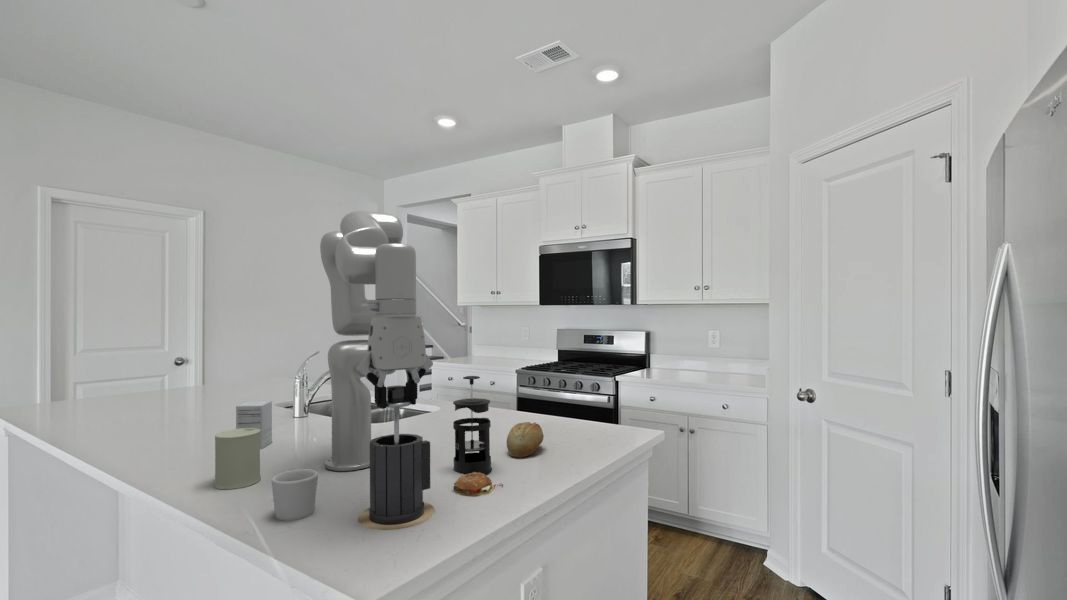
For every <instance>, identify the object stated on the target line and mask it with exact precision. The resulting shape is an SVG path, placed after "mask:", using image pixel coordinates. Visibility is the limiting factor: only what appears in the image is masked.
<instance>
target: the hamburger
mask: <svg viewBox="0 0 1067 600" xmlns="http://www.w3.org/2000/svg"><path fill="white" fill-rule="evenodd" d="M490 478H491V477H489V476H488V475H485V474H482V473H477V472H474V473H469V474H465V475H464V474H461V475H460V476H459V477H458V478H457V479H456V481H455V482H454V483H453V489H452V492H454V493H456V494H457V495H459V496H460V495H462V496H466V497H467V496H469V497H473V496H479V497H480V496H483V495H488V494H491V493H492V491H493V490H494V488H495V487H500V486H501V488H504V484H503V483H498V484H493V481H492V479H490ZM496 485H497V486H496Z"/></svg>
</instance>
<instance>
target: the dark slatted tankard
mask: <svg viewBox="0 0 1067 600" xmlns="http://www.w3.org/2000/svg"><path fill="white" fill-rule="evenodd" d="M429 489H431V441H429V440H427V439H426V440H423V436H421V435H419V434H413V433H399V445H394V433H393V434H387V435H381V436H377V437H375V438H373V439H372V438H371V442H370V467H369V507H368V508H369V519H370V521H372V522H373V523H376V524H381V525H398V524H404V523H408V522H411V521H414V520H416V519H418V518H420V517H421V516H422V515H423V514H424V502H425V501H424V491H425V490H426V491H427V490H429Z"/></svg>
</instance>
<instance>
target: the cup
mask: <svg viewBox="0 0 1067 600" xmlns="http://www.w3.org/2000/svg"><path fill="white" fill-rule="evenodd" d="M318 477H319V472H318V471H316V470H314V469H310V468H298V469H292V470H291V469H290V470H287V471H282V472H280V473H278V474H276V475H274V476H273V477H272V478H271V489H272V498H273V507H274V513H275V516H276V519H277V520H279V521H296V520H300V519H304V518H306V517H309V516H310V515H312V514H313V513H314V511H315V507H316V499H317V489H318V480H319V478H318Z"/></svg>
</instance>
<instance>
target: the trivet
mask: <svg viewBox="0 0 1067 600" xmlns="http://www.w3.org/2000/svg"><path fill="white" fill-rule="evenodd" d="M423 502H424V514H423V515H422V516H421V517H420V518H418V519H416V520H414V521H411V522H408V523H404V524H398V525H381V524H376V523H373V522H372V521H370V519H369V508H370V507H368V508H366V509H365V510H363V511H362V512H360V514H358V517H357V522H358V523H359V525H360V526H362V527H363V528H366V529H370V530H376V531H396V530H403V529H407V528H412V527H415V526H419V525H421V524H423V523H425V522H427V521H429V520H430V519H432V518H433V516H434V515H435V514H436V513H435V512H436V509H435V506H433V505H432V504H431V503H429V502H426V501H423Z"/></svg>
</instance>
